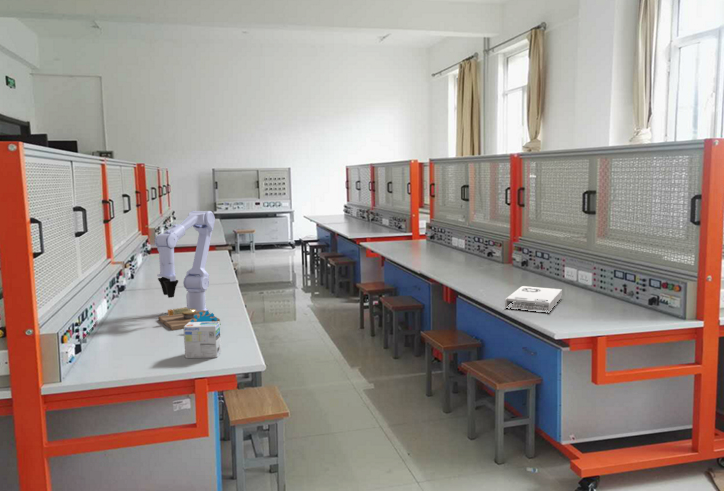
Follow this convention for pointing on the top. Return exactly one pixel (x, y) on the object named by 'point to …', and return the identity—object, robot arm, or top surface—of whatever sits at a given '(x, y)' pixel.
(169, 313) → the lever handle
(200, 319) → the gear
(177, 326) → the board
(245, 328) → the top surface
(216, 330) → the light bulb box
